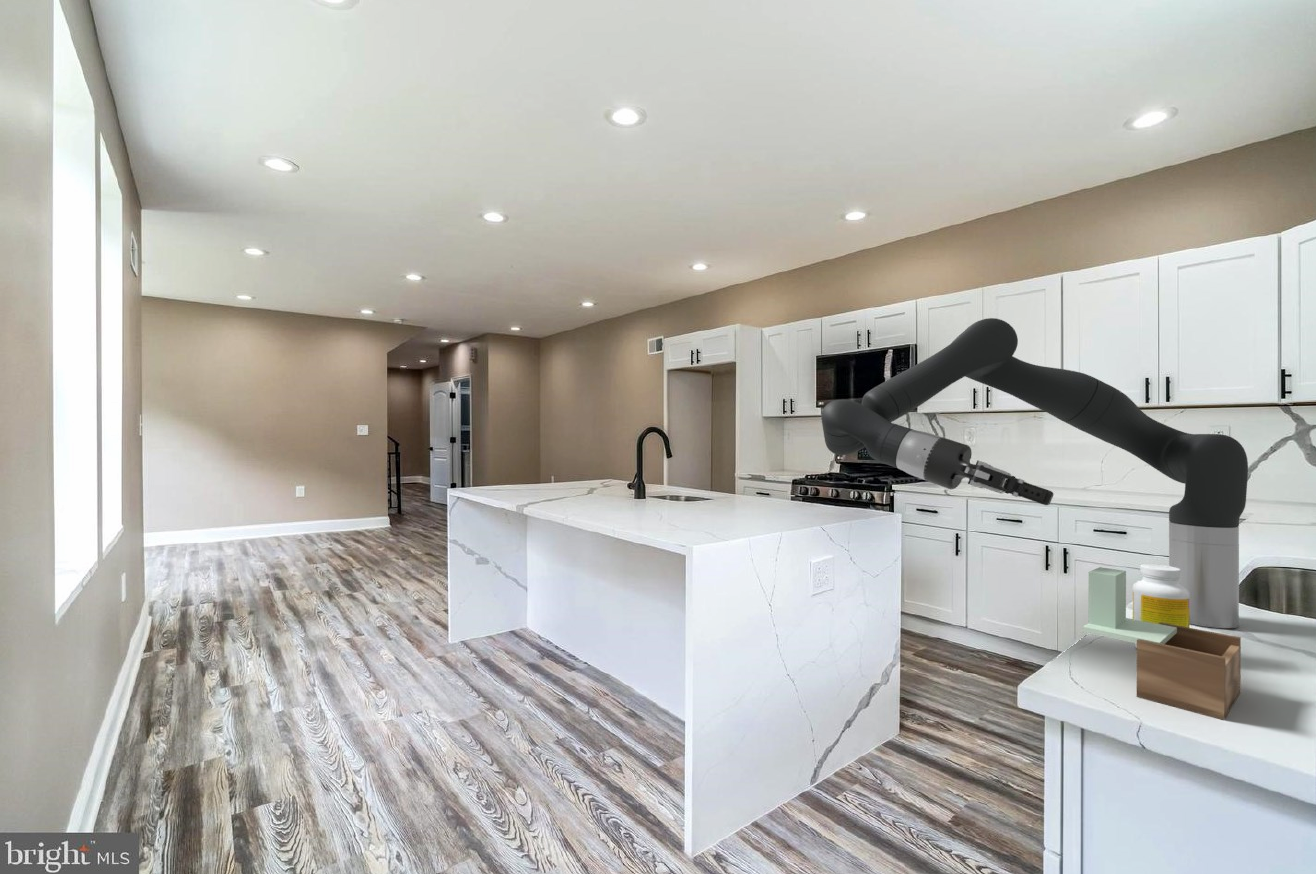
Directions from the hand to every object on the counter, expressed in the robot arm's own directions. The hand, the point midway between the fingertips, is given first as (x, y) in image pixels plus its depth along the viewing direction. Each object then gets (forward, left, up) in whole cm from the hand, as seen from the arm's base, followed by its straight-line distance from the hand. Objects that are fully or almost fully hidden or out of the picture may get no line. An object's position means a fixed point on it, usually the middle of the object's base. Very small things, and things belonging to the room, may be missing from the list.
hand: (1050, 499), depth 87 cm
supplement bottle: (-18, +9, -24) cm, 31 cm away
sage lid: (-1, +9, -17) cm, 19 cm away
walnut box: (-1, +15, -23) cm, 28 cm away
